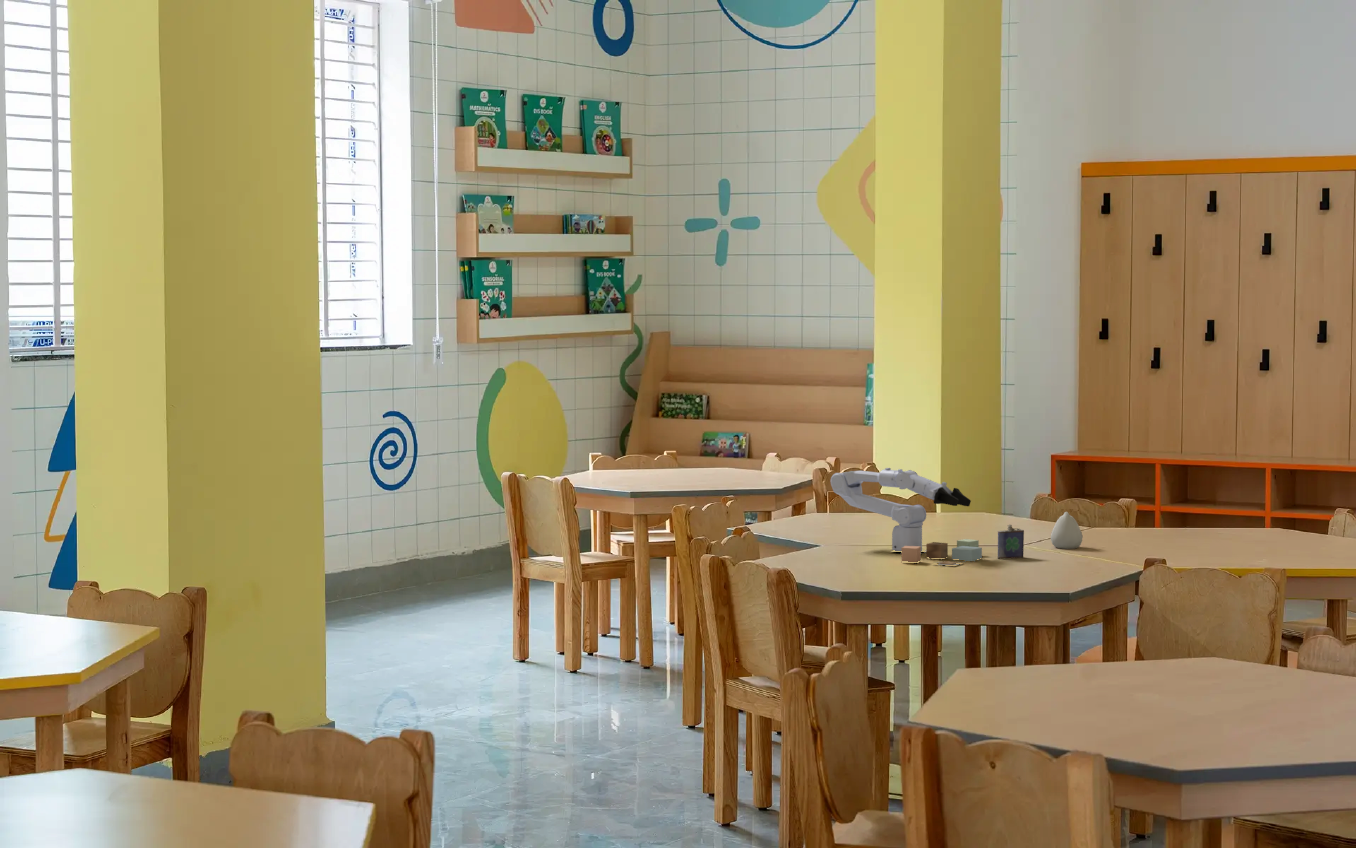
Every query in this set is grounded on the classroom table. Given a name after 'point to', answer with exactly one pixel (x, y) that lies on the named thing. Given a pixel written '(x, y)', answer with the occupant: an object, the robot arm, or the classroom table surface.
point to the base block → (967, 553)
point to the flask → (1010, 543)
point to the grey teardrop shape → (1066, 533)
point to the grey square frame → (947, 563)
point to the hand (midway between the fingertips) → (963, 503)
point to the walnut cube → (937, 550)
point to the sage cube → (968, 543)
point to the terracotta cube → (911, 553)
